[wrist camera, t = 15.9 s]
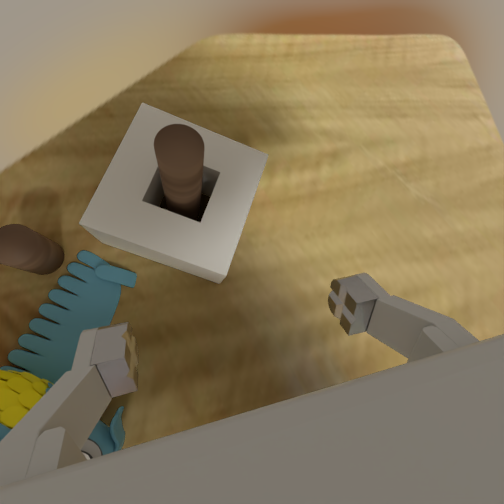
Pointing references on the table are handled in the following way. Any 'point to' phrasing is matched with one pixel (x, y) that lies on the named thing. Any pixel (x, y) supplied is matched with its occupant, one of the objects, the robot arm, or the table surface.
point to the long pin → (181, 168)
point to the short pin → (29, 250)
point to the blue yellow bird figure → (64, 346)
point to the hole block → (166, 222)
